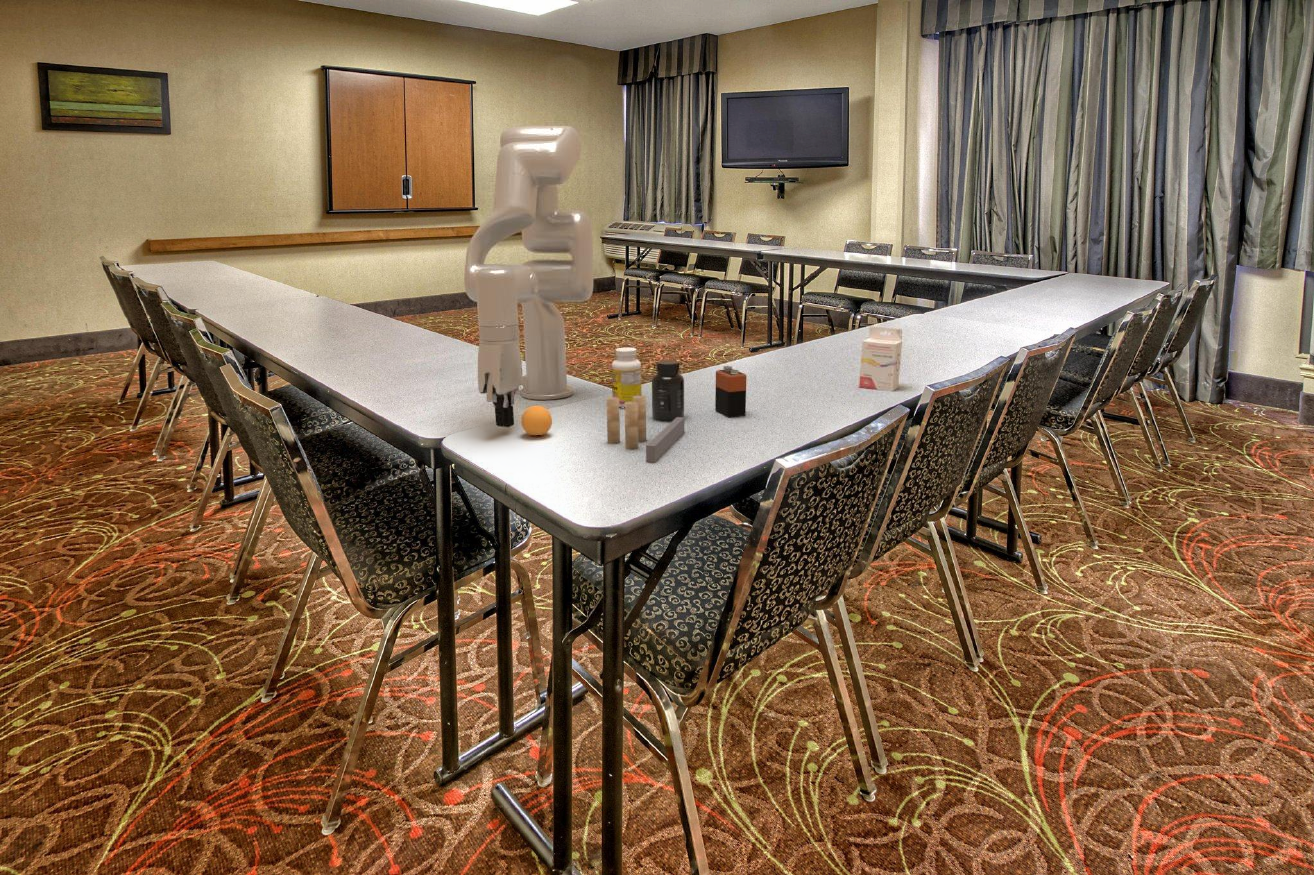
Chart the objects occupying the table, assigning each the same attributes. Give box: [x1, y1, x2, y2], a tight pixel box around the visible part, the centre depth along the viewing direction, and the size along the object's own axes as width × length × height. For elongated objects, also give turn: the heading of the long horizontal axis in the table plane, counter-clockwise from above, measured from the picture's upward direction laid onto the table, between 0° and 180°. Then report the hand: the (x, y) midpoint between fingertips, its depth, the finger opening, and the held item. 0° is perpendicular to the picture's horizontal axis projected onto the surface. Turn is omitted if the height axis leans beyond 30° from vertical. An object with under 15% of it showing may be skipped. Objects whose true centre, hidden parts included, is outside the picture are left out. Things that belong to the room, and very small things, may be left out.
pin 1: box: [624, 402, 639, 450], centre depth 145 cm, size 2×2×8 cm
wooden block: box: [605, 396, 621, 445], centre depth 149 cm, size 2×2×8 cm
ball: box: [520, 405, 553, 436], centre depth 153 cm, size 6×6×6 cm
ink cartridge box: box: [858, 325, 903, 392], centre depth 190 cm, size 9×5×15 cm, turn 58°
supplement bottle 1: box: [611, 347, 643, 407], centre depth 176 cm, size 7×7×13 cm
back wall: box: [645, 417, 685, 463], centre depth 146 cm, size 2×20×3 cm, turn 163°
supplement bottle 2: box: [651, 359, 685, 422], centre depth 165 cm, size 7×7×12 cm
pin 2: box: [633, 395, 647, 443], centre depth 150 cm, size 2×2×8 cm
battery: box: [714, 365, 747, 418], centre depth 168 cm, size 4×7×10 cm, turn 21°
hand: (505, 425), depth 156 cm, fingers closed
